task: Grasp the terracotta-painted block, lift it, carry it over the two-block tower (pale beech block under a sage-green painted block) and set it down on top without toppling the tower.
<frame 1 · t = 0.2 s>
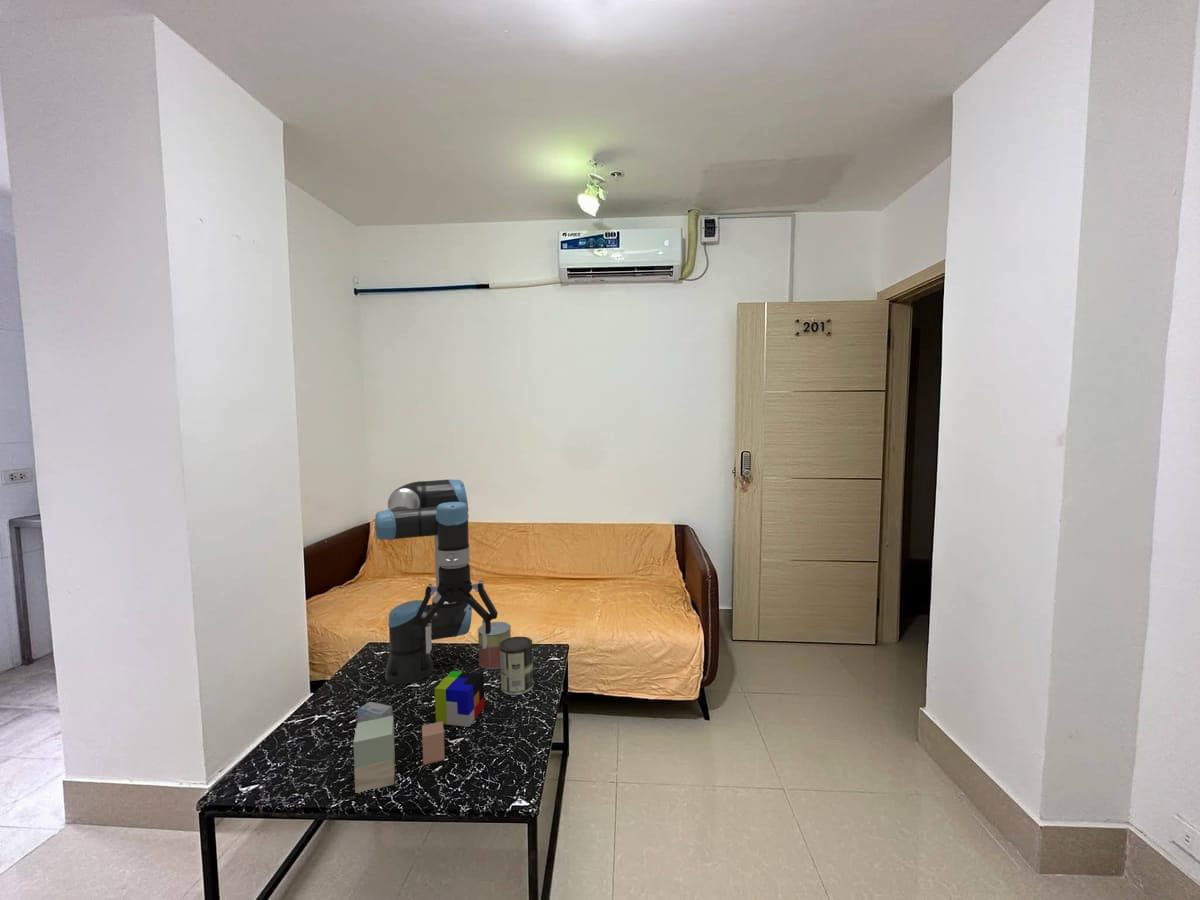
hand: (457, 648, 123), 27 cm above the table, fingers open, 13 cm apart
puzzle toy: (461, 715, 141), on the table
coffee can: (517, 687, 156), on the table
canned food: (495, 662, 173), on the table
beech block: (376, 778, 116), on the table, touching sage block
sage block: (375, 753, 116), point 6 cm above the table, touching beech block
terracotta block: (433, 756, 123), on the table
medicine box: (376, 740, 130), on the table
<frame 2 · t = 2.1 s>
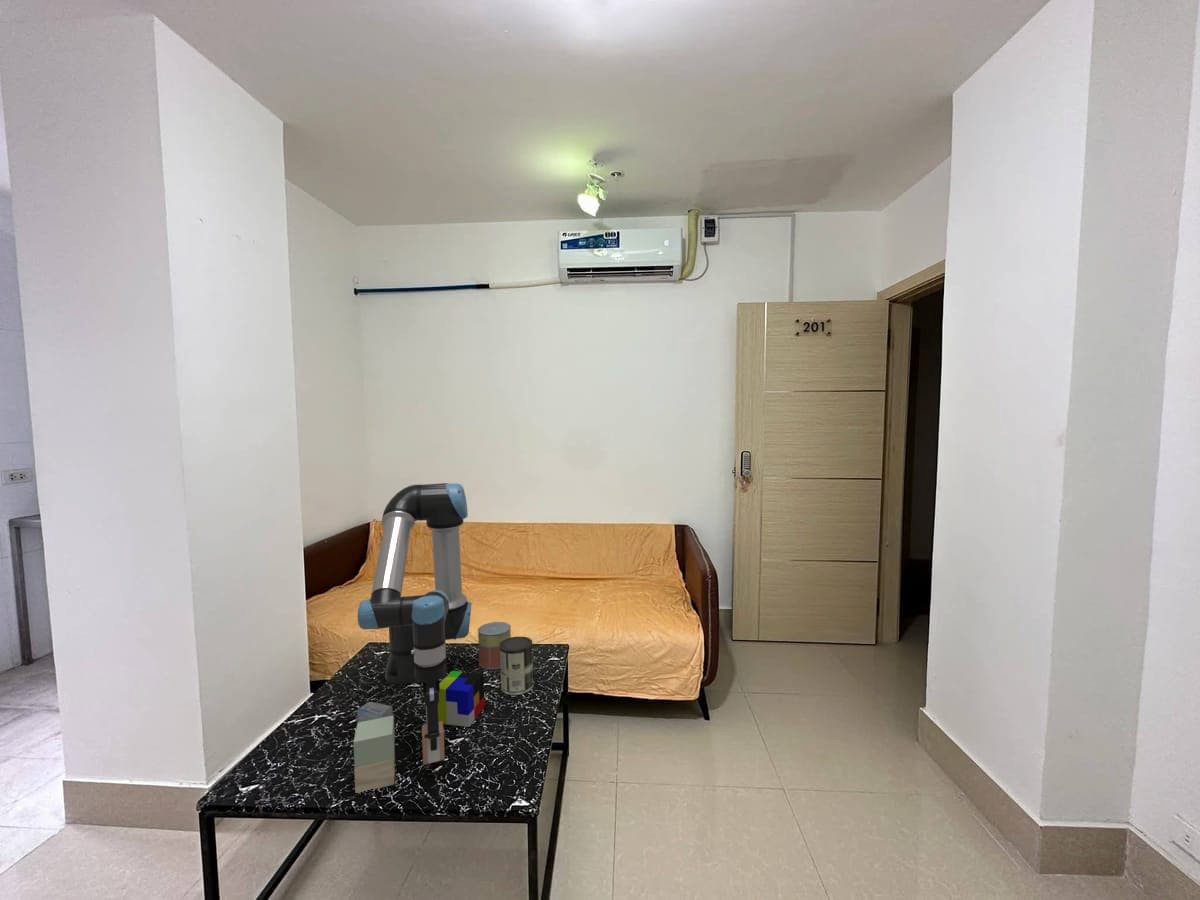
hand: (433, 744, 123), 3 cm above the table, fingers open, 13 cm apart
nothing on the table moved.
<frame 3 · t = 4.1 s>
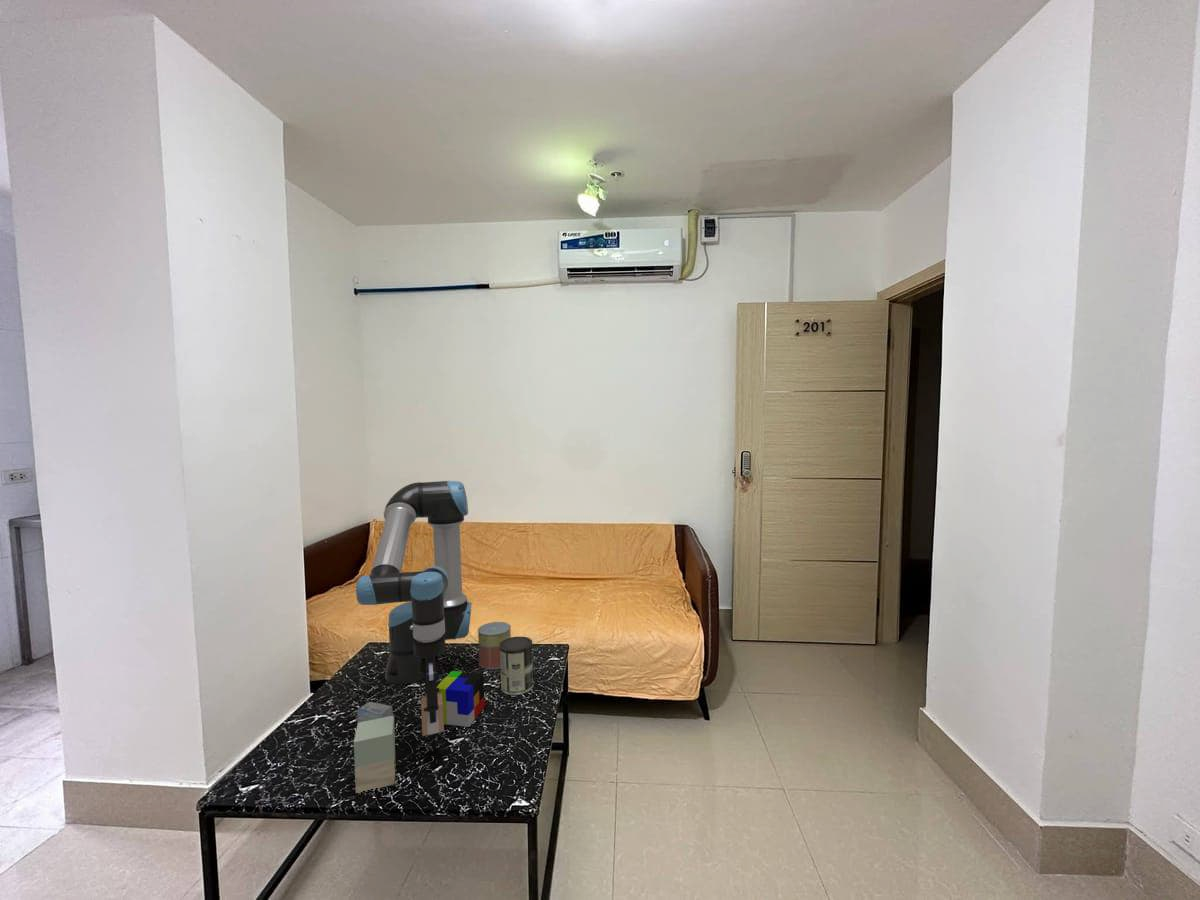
hand: (432, 726, 124), 7 cm above the table, fingers closed on terracotta block, 5 cm apart
terracotta block: (432, 727, 124), point 7 cm above the table, touching gripper
everything else where it was.
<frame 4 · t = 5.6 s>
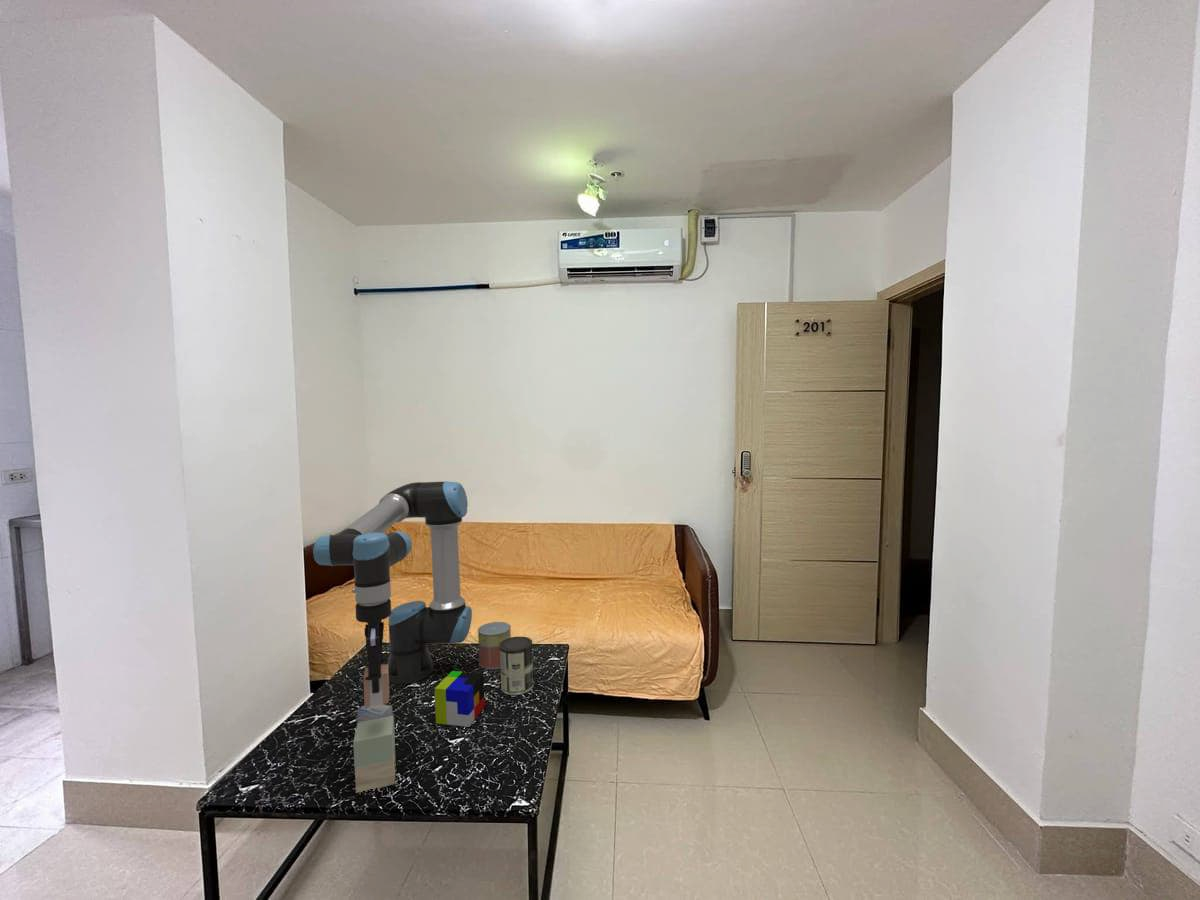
hand: (377, 698, 115), 19 cm above the table, fingers closed on terracotta block, 5 cm apart
terracotta block: (377, 699, 116), point 19 cm above the table, touching gripper
everything else where it was.
when the fingers open (12 cm above the table, at t = 7.5 s): terracotta block stays where it is, resting on sage block.
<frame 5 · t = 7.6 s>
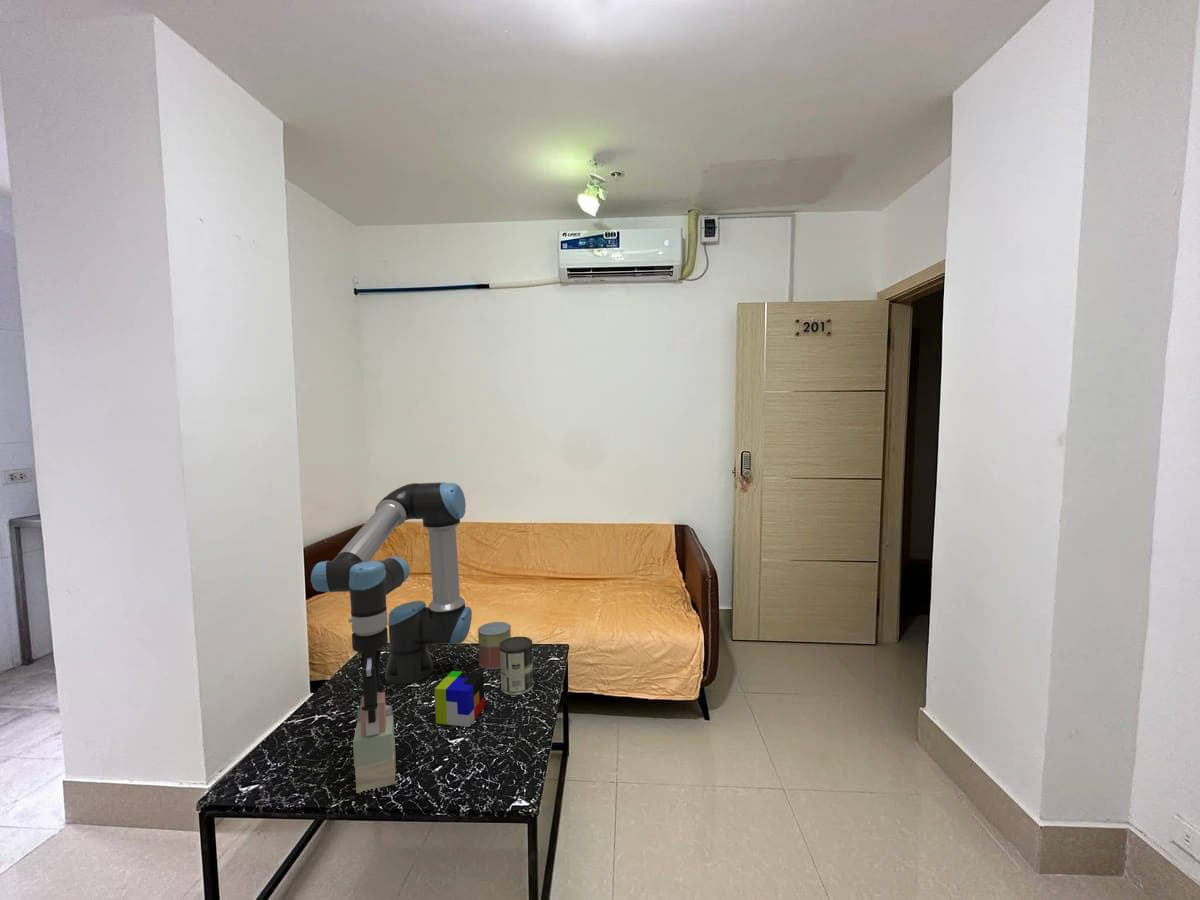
hand: (373, 726, 115), 12 cm above the table, fingers open, 5 cm apart
sage block: (375, 752, 116), point 6 cm above the table, touching beech block, terracotta block
terracotta block: (374, 728, 115), point 12 cm above the table, touching sage block
everything else where it was.
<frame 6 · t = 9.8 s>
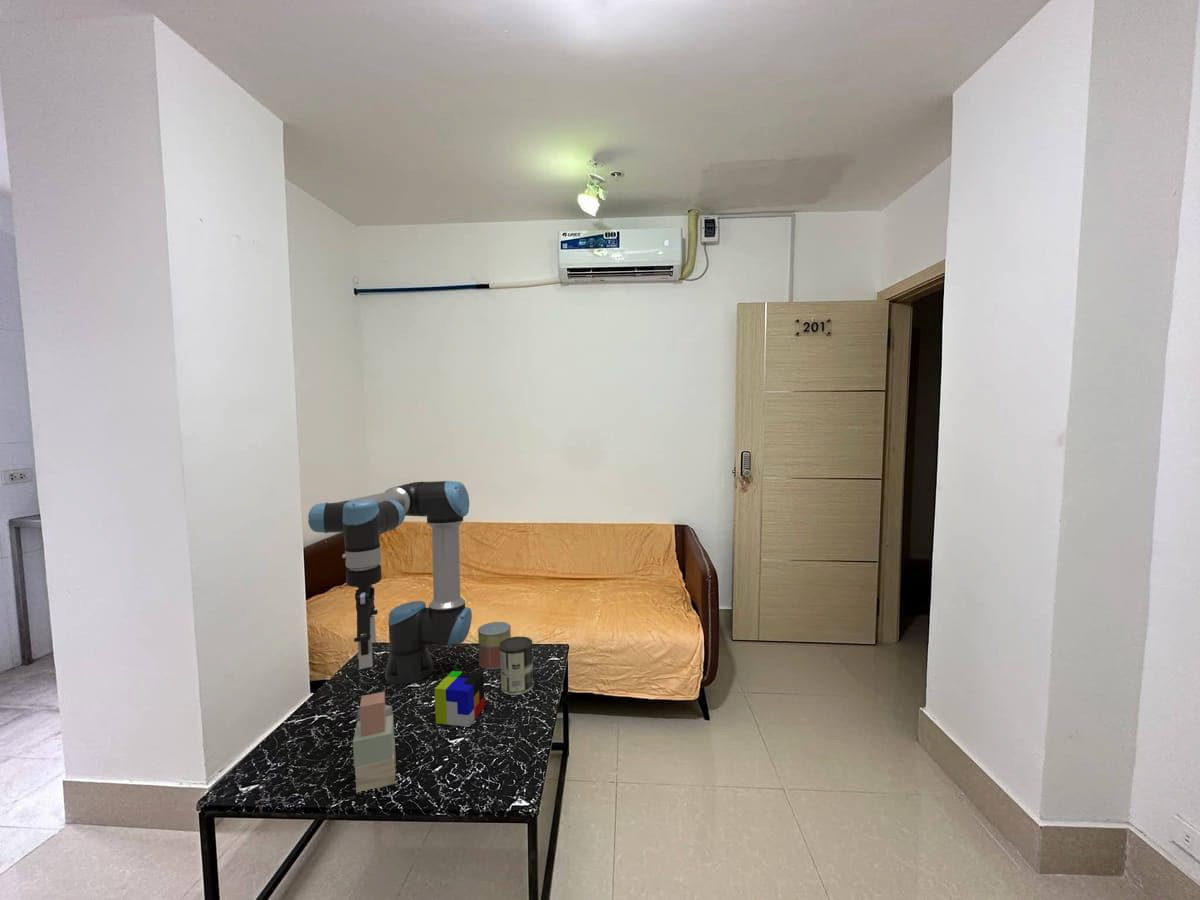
hand: (368, 654, 117), 29 cm above the table, fingers open, 13 cm apart
nothing on the table moved.
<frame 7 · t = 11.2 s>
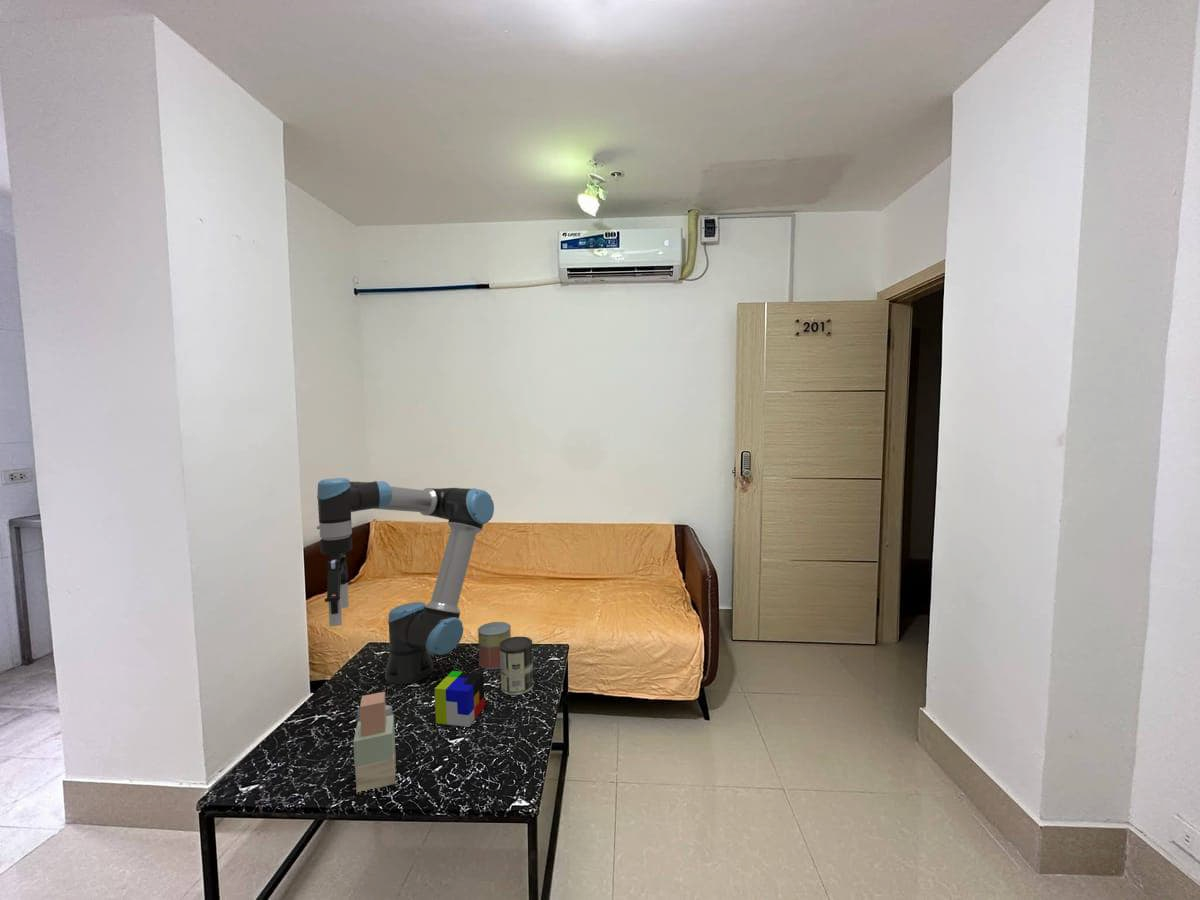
hand: (339, 616, 131), 33 cm above the table, fingers open, 13 cm apart
nothing on the table moved.
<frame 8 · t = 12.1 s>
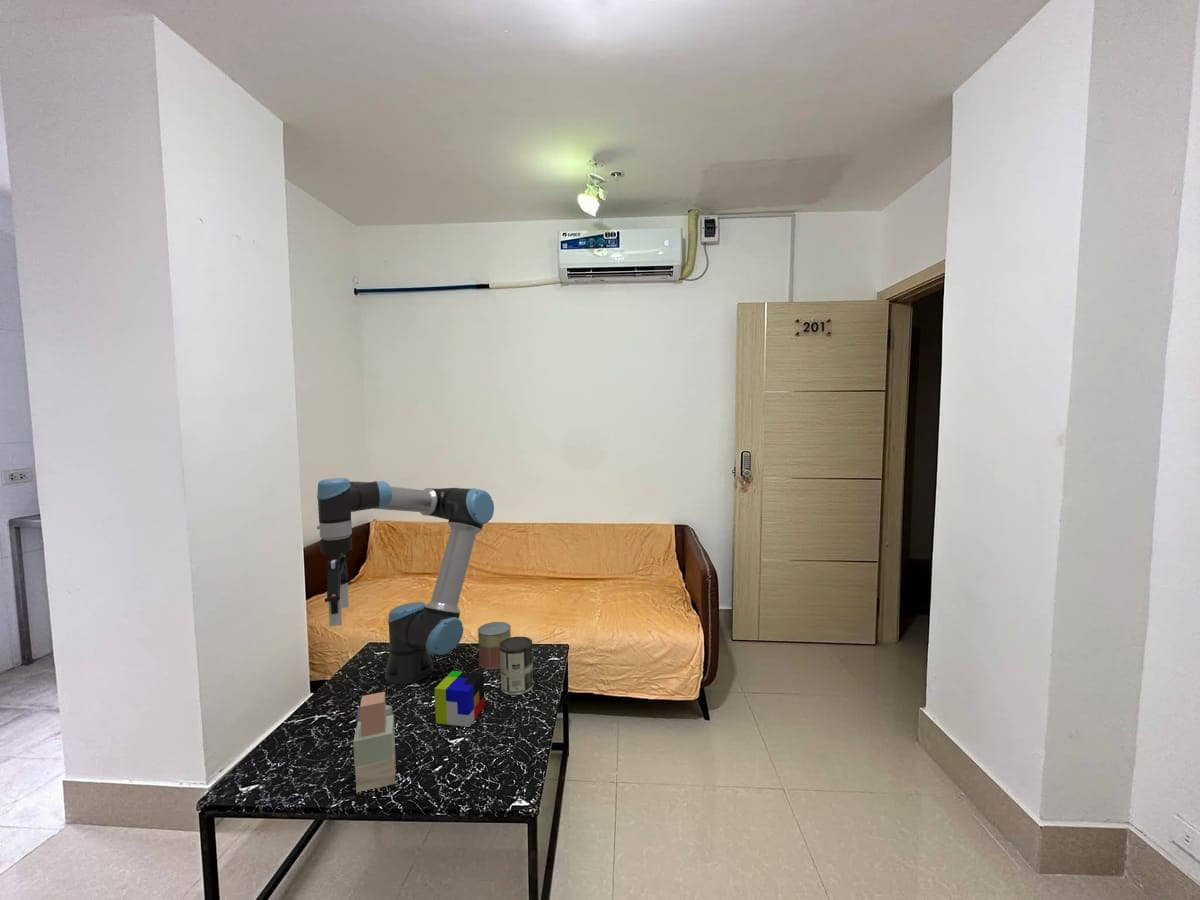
hand: (339, 616, 131), 33 cm above the table, fingers open, 13 cm apart
nothing on the table moved.
at the end: terracotta block 0.3 cm from the sage block (horizontally); terracotta block point 11.9 cm above the table; sage block tilted 0° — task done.
